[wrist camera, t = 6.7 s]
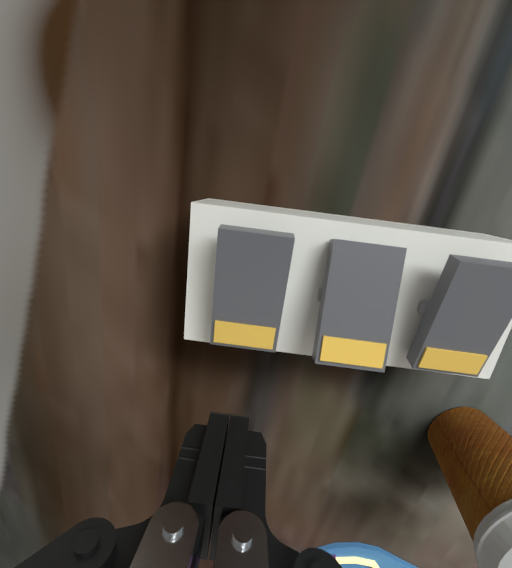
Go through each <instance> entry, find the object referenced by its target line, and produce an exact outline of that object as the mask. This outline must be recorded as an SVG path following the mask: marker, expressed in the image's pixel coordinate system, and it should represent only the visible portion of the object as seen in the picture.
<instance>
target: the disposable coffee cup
mask: <svg viewBox="0 0 512 568" xmlns="http://www.w3.org/2000/svg"><path fill="white" fill-rule="evenodd" d="M427 436H428V441H429V443H430V446H431V448H432V450H433V452H434V454H435V457H436V459H437V461H438V463H439V466H440V468H441V470H442V472H443V475H444V477H445V479H446V482H447V484H448V486H449V488H450V490H451V493H452V495H453V497H454V500H455V502H456V504H457V506H458V509H459V511H460V513H461V515H462V518H463V520H464V522H465V524H466V527H467V529H468V531H469V533H470V536H471V538H472V540H473V544H474V549H475V556H476V560H477V563H478V566H479V568H512V436H510V435H509V434H508V433H507V432H506V431H504V430H503V429H502V428H501V427H500V426H498V425H497V424H496V423H495V422H494V421H492V420H491V419H490V418H489V417H488V416H487V415H485V414H484V413H483V412H482V411H480V410H478V409H475V408H470V407H458V408H453V409H450V410H448V411H445V412H443V413H442V414H440V415H439V416H438V417H436V418H435V420H434V421H433V422H432V423H431V425H430V426H429V429H428V435H427Z"/></svg>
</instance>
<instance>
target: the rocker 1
mask: <svg viewBox="0 0 512 568" xmlns="http://www.w3.org/2000/svg"><path fill="white" fill-rule="evenodd" d="M294 241H295V236H294V233H286V232H279V231H271V230H263V229H255V228H248V227H240V226H232V225H224V224H221V225H220V226H219V228H218V235H217V250H216V264H215V278H214V292H213V307H212V321H211V335H210V344H214V345H221V346H229V347H237V348H244V349H252V350H260V351H267V352H276V346H277V341H278V335H279V329H280V323H281V317H282V311H283V306H284V300H285V294H286V288H287V282H288V276H289V270H290V265H291V259H292V253H293V247H294Z"/></svg>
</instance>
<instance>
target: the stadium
mask: <svg viewBox="0 0 512 568" xmlns="http://www.w3.org/2000/svg"><path fill="white" fill-rule="evenodd" d="M318 548H319V549H322V550H324V551H326V552H328V553H329V554H331V555H332V556H333V557H334V558H335V559H336V560H337V561H338V563H339V564H340V565H341V567H342V568H417V567H415V566H413V565H412V564H410V563H408V562H406V561H404V560H402V559H400V558H398V557H396V556H394V555H393V554H391V553H389V552H387V551H385V550H383V549H381V548H379V547H377V546H372V545H368V544H363V543H358V542H346V543H332V544H328V545H325V546H322V547H318Z"/></svg>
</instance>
